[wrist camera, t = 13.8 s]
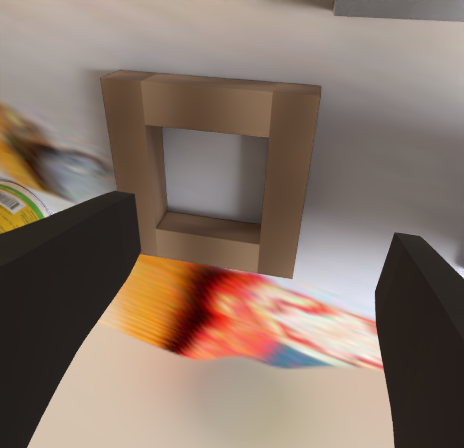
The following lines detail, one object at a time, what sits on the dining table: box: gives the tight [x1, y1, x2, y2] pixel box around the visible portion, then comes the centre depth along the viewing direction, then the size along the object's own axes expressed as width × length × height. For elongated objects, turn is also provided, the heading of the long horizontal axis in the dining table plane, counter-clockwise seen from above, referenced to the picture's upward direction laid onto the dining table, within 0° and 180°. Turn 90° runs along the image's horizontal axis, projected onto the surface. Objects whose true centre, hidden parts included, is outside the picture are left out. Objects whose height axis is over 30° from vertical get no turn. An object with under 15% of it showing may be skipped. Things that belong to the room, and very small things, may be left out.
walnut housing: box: [100, 70, 321, 279], centre depth 20 cm, size 10×10×2 cm
